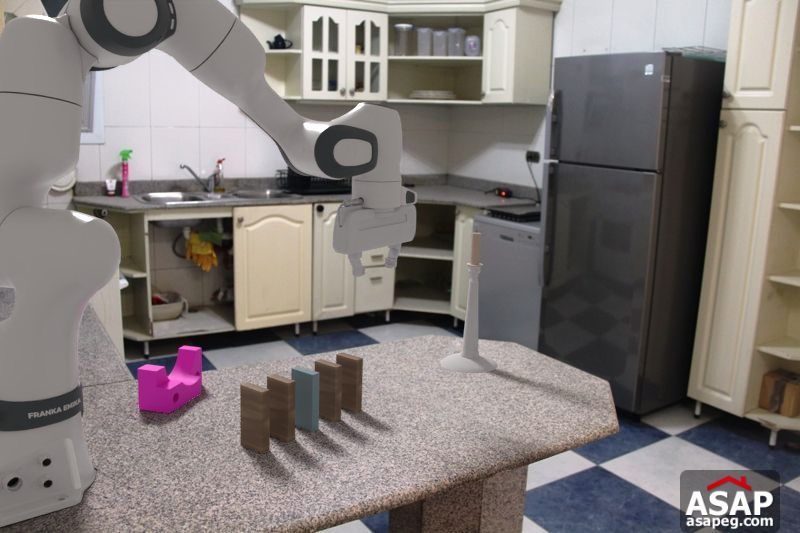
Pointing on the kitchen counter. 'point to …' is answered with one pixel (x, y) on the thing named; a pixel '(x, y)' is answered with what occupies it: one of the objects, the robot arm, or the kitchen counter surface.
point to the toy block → (171, 382)
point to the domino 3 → (306, 398)
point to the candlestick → (471, 324)
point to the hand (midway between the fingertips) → (375, 271)
